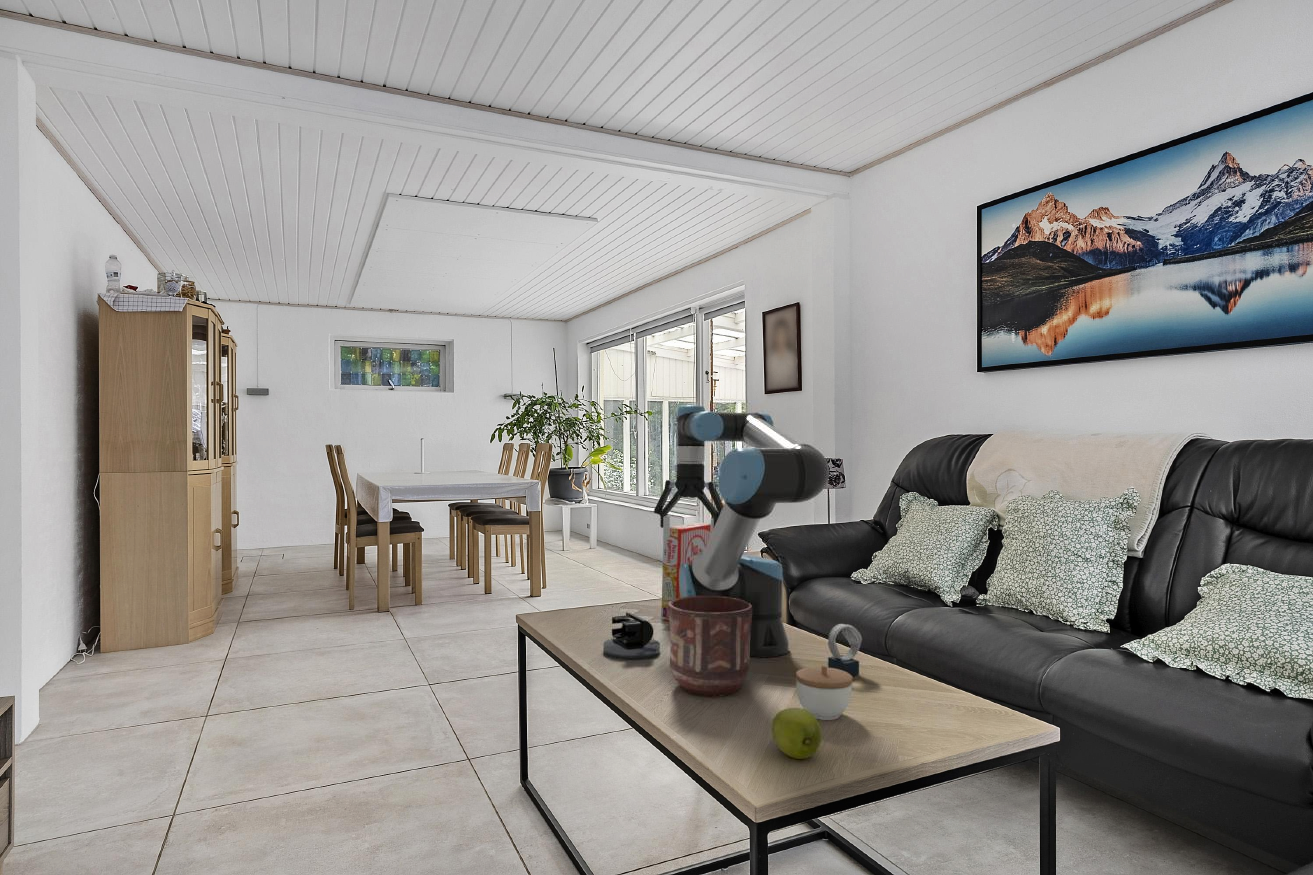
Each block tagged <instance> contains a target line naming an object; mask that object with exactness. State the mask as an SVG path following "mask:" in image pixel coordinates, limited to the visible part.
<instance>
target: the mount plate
mask: <svg viewBox="0 0 1313 875" xmlns="http://www.w3.org/2000/svg"><path fill="white" fill-rule="evenodd" d="M602 652H603V654H604V655H606V656H607V657H609V658H612V659H619V660H625V661H626V660H627V661H632V660H633V661H636V660H637V661H638V660H639V661H640V660H646V659H652V658H654V657H655V658H656V657H657V656H659V655H660V653H661V643H660V642H659V641H658V640H656V639H654V638H652V639H651V641H650V642H649V643H647V644H646V645H645V646H644V647H642V648H637V649H625V648H623V647H622V646H620V645H618V644H617V643H615V642H613V641H612V638H610V639H606V640H605V641H604V642H603V650H602Z"/></svg>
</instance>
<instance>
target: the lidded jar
mask: <svg viewBox="0 0 1313 875" xmlns="http://www.w3.org/2000/svg"><path fill="white" fill-rule="evenodd" d="M795 679H796V694H797V698H798V701H799V703H800V705H801V707H802V709H805V710H807V711H808V712H810V713H811V714H812V715H813V716H814V717H815V718H816V720H820V721H821V720H822V721H833V720H837V719H839V718H840V716H841V715H842V714H843V713H844V712H845V711H846V710H847V708H848V707H849V705H850V701H851V698H852V689H853V685H852V684H853V676H851V675H850V674H849V673H847V672H845V671H842V670H839V669H835V668H829V667H828V665H821V666H810V667H804V668H800V669H798V670H797V671H796V674H795Z"/></svg>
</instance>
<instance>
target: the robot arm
mask: <svg viewBox="0 0 1313 875" xmlns="http://www.w3.org/2000/svg"><path fill="white" fill-rule="evenodd" d="M706 442H741V443H742V442H743V443H745V444H747V445H748V446H746V447H737V448H733V449H732V450H730V451H729V452H727V453H726V454H725V456H724V457H723V459H722V462H721V464H720V467H719V475H718V480H717V481H718V482H717V483H718V490H719V493H720V495H719V493H718V491H717V484H716V481H708V482H707V481H705V464H704V462H705V450H706V449H705V447H706V445H705V443H706ZM676 462H678V463H677V464H676V480H672V479H668V480H667V479H666V480H665V483H664V488H663V490H662V493H661V494H660V498H658V502H657V503H656V505H655V508H654V509H653V513H654V514H657V515H659V517H660V518H659V519H660V524H659V525H660V528H661V529H663V530H662V532H663V533H662V534H663V535H662V540H663V541H666V540H670V527H671V523H670V522H671V516H670V515H669V513H670V512H671V511H672V509H673V508H674V507H675V506H676V505H677V504H678V502H679V501H680V499H682V498H690V499H691V498H692V499H695V498H697V499H698V500H700V502H701V503H702V505H703V506H704V507H705V508H706V510H707V511H708V513H709V514H710V515H711V517H712V518H711V519H710V523H709V524H710V538H709V541H708V543H707V545H706V548H705V550H704V551H702V552H700V553H698V554H697V555H696V556H695V558H694V560H693V562H692V563H690V564H689V563H685V564H682V565H681V566H680V569H679V587H680V594H681V598H682V597H688V596H722V597H730V598H736V599H740V600H744V601H746V602H748V603H750V604H751V606H752V620H751V630H750V657H757V658H771V657H779V656H783V655H786V654H787V653H788V652H789V640H788V636H787V633H786V629H785V626H784V622H783V615H782V614H783V588H784V586H783V584H784V577H783V576H784V575H783V566H782V564H781V563H780V562H779V561H777V560H773V559H769V558H766V557H765V558H764V557H759V556H754V555H744V553H745V551H746V549H747V547H748V545H749V543H750V541H751V538H752V537H753V535H754V533H755V531H756V529H757V526H758V524H759V522H760V521H761V519H764V518H766V517H768V516H769V515H770V514H771V513H773V510H774V508H775V506H776V505H777V504H789V503H790V504H792V503H793V504H794V503H795V504H796V503H797V504H798V503H804V502H808V501H810V500H812V499H814V498H816V497H817V496H819V494H820V493H822V491H823V490H824V488H826V485H827V483H828V480H829V476H830V468H829V463H828V461H827V459H826V458H825V456H824V454H823V453H822V452H820V450H818V449H816V448H815V447H814V446H812V445H811V444H808V443H799V442H798V441H796V440H795V439H793V438H791V437H790V436H789V435H787V434H786V433H784V432H783V431H781V430H780V429H778V428H776V427H775V425H774V422H773V419H772V417H771V415H770V414H767V413H761V412H726V411H725V412H723V411H711V410H706V408H705V407H704V406H702V405H693V404H692V405H680V406H678V408H677V414H676ZM674 488H676V489H677V491H676V492H675V493H674V494H673V496H672V497H671V499H670V500H669V501H668V498H669V497H670V494H671V492H672V489H674ZM705 488H706V490H708V492H709V494H710V497H711V499H712V501H713V503H714V505H713V503H712V502H711V501H710V499H709V498H708V497H707V494H706V493H705V492H704V490H705ZM721 498H722V500H723V501H724V504H723V501H722V500H721ZM667 501H668V502H667Z"/></svg>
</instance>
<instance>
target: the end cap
mask: <svg viewBox="0 0 1313 875" xmlns="http://www.w3.org/2000/svg"><path fill="white" fill-rule="evenodd" d="M611 624H612V625H614V624H622V626H621V627H615V628H611V636H612V638H611V639H612V641H613V642H615V643H617V644H618V645H620V646H622V647H623V648H625V649H637V648H642V647H644V646H645V645H646V644H647V643H649V642H650V641H651V639H653V636H654V626H653V625H652V623H650V621H648V620H646V619H644V618H642V617H640V616H638V615H635V614H634V613H632V612H625V615H617V616H612V618H611Z"/></svg>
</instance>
